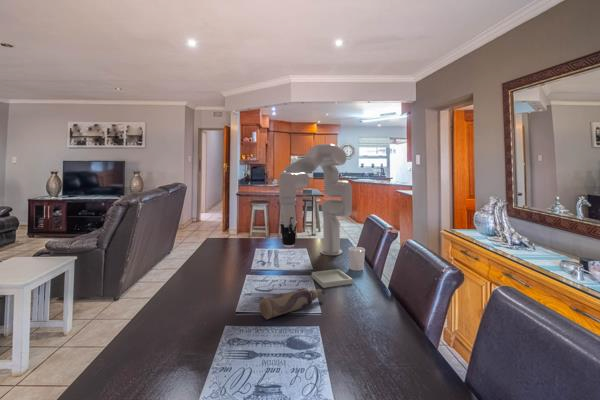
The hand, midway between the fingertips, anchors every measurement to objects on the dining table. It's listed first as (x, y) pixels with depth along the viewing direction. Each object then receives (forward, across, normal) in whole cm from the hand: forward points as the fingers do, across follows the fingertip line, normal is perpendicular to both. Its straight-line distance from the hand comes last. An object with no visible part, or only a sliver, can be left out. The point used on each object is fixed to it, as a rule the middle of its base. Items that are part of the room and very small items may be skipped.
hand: (288, 239), depth 132 cm
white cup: (+18, 0, +34) cm, 39 cm away
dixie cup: (+3, 0, 0) cm, 3 cm away
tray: (+18, +10, +16) cm, 26 cm away
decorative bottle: (+17, +31, -7) cm, 36 cm away
